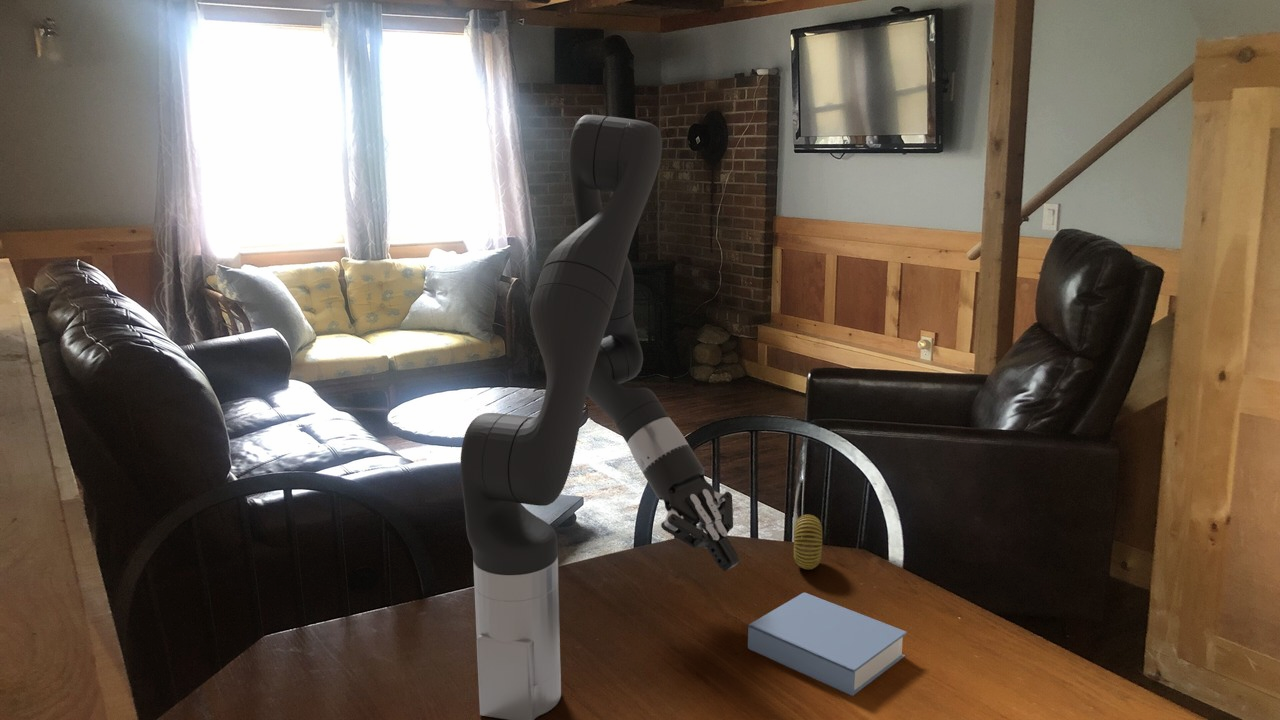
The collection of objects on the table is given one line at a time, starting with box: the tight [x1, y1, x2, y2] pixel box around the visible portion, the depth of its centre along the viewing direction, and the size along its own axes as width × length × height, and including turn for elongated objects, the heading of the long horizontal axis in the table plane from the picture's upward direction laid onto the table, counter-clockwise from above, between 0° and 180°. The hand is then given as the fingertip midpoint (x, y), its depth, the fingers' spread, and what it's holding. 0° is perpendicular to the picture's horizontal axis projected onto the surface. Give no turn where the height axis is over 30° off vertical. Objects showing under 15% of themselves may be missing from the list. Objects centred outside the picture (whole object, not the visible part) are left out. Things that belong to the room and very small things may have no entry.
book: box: [747, 592, 908, 697], centre depth 118 cm, size 4×12×15 cm
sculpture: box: [793, 513, 823, 570], centre depth 141 cm, size 8×4×8 cm, turn 171°
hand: (732, 566), depth 127 cm, fingers closed
